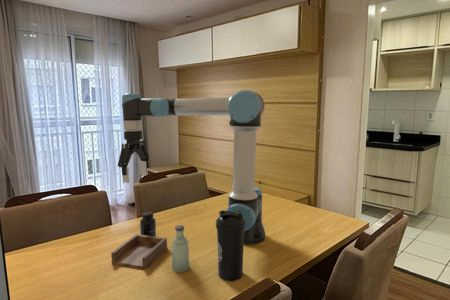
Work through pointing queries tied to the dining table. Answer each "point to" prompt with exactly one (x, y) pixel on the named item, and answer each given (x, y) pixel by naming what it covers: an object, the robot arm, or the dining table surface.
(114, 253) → the u rest
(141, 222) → the supplement bottle
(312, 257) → the dining table surface
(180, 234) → the bottle
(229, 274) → the water bottle
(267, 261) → the dining table surface
